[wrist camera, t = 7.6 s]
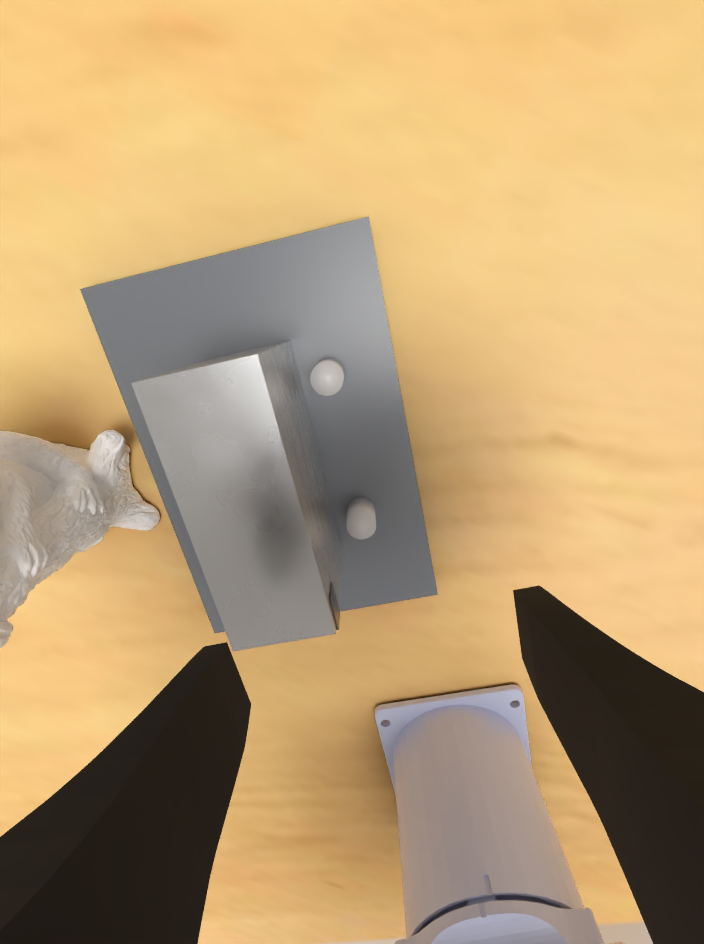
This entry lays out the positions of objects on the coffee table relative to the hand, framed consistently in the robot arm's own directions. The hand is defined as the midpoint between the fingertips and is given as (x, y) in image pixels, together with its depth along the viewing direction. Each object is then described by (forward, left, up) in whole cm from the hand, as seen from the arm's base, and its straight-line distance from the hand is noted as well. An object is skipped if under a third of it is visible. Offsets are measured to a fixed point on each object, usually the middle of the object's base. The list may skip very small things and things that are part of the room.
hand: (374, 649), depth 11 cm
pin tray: (+3, +3, -10) cm, 11 cm away
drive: (+3, +3, -9) cm, 10 cm away
